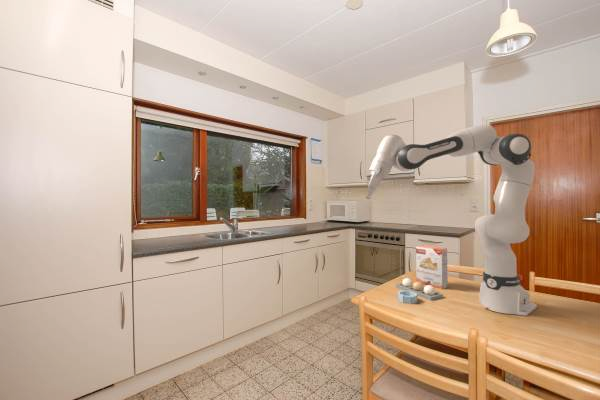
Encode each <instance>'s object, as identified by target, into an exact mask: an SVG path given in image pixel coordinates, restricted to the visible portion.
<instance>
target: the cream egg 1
mask: <svg viewBox="0 0 600 400" xmlns="http://www.w3.org/2000/svg"><path fill="white" fill-rule="evenodd" d="M401 283H402V284H403V286H404V287H407V288H409V287H412V285H413V283H414V282H413V280H412V279H411V278H410V277H406V278H403V280H402V282H401Z"/></svg>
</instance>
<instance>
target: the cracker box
mask: <svg viewBox="0 0 600 400" xmlns="http://www.w3.org/2000/svg"><path fill="white" fill-rule="evenodd" d="M415 254H416V255H415V259H416V260H415V263H416V265H415V269H416V270H415V271H416V274H415V275H416V281H418V282H421V283H422V284H423V286H427V285H431V286H433V287H434V288H436V289H440V290H445V289H446V288H448V248H444V247H439V246H437V247H436V246H430V245H424V244H423V245H422V244H420V245H417V246H416V247H415Z"/></svg>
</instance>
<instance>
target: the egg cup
mask: <svg viewBox="0 0 600 400" xmlns="http://www.w3.org/2000/svg"><path fill="white" fill-rule="evenodd" d="M397 301H398V302H400V303H403V304H409V305H413V304H417V303H418V295H417V293H415V292H412V291H405V290H402V289H401V290H398V291H397Z"/></svg>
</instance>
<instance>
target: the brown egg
mask: <svg viewBox="0 0 600 400" xmlns="http://www.w3.org/2000/svg"><path fill="white" fill-rule="evenodd" d="M412 287H413V289H414V290H415V291H418V292H420V291H423V289H424V287H425V285H423V284H422V283H421V282H418V281H417V280H416V281H415V282H413V285H412Z"/></svg>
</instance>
